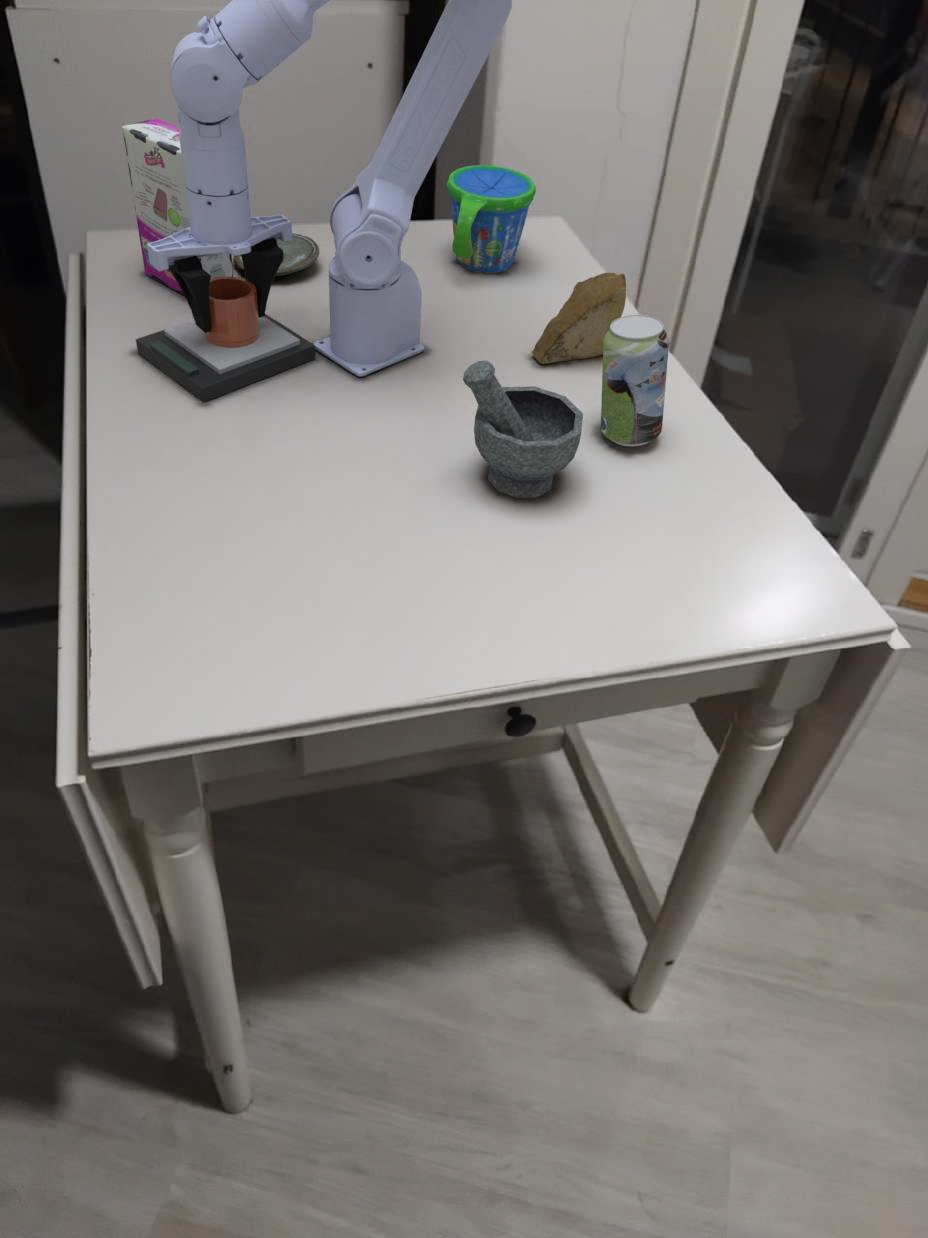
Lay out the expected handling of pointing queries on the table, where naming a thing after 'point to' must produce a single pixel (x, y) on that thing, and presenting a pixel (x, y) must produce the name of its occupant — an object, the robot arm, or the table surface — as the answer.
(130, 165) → the candy bar box
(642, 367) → the beverage can
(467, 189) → the snack cup
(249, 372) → the scale
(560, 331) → the rock
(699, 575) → the table surface
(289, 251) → the lid
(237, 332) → the terracotta cup
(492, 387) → the mortar and pestle
